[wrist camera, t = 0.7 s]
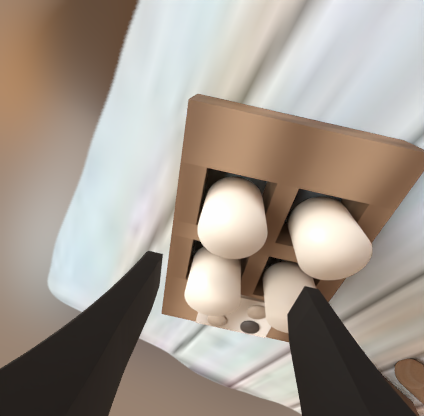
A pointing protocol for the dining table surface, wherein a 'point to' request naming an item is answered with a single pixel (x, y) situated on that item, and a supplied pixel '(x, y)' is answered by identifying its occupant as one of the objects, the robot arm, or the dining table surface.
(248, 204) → the button
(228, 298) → the button
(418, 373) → the wooden block set
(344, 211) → the button
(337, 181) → the button board
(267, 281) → the button
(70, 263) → the dining table surface
